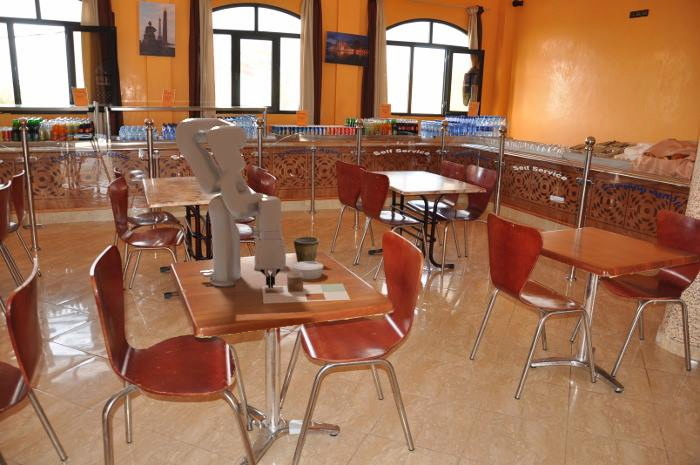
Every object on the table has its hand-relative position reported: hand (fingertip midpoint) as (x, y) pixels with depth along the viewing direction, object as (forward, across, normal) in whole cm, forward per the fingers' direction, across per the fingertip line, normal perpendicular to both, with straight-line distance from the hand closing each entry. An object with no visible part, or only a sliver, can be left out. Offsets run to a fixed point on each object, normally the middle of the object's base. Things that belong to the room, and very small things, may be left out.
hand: (270, 286), depth 191 cm
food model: (+3, 0, +37) cm, 37 cm away
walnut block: (+1, +8, 0) cm, 8 cm away
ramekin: (+3, +14, +15) cm, 21 cm away
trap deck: (+3, +11, -4) cm, 12 cm away
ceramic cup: (+3, +15, +35) cm, 38 cm away
